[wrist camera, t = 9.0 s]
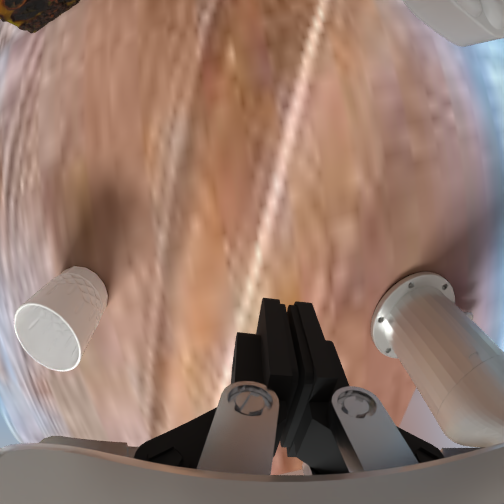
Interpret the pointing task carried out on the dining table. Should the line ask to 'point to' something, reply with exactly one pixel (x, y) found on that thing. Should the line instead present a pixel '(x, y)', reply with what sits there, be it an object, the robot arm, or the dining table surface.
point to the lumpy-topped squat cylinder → (461, 19)
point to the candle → (33, 12)
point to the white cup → (62, 318)
